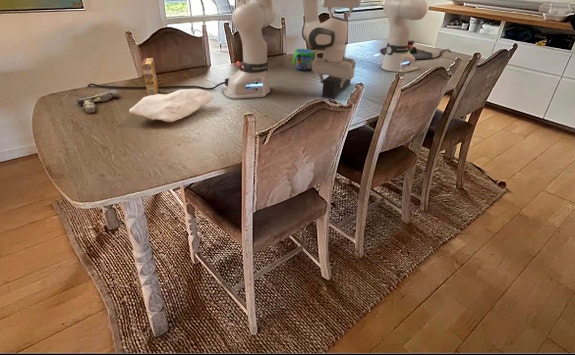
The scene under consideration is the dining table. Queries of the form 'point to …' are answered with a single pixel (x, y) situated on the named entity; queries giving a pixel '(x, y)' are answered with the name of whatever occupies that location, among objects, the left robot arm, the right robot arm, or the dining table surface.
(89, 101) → the handgun
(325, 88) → the bar
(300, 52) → the snack cup
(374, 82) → the dining table surface
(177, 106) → the crumpled cloth
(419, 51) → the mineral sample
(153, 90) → the candy box
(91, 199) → the dining table surface
